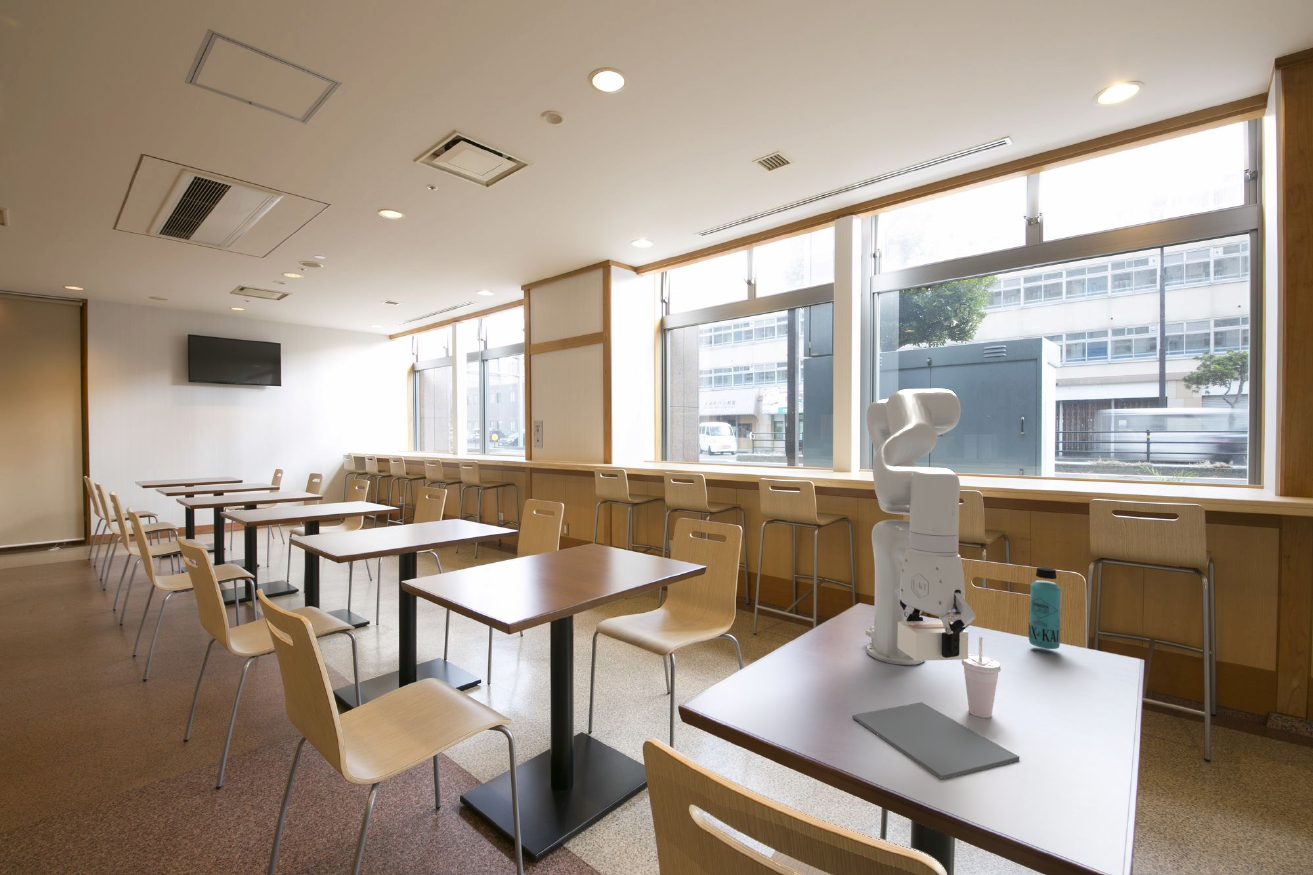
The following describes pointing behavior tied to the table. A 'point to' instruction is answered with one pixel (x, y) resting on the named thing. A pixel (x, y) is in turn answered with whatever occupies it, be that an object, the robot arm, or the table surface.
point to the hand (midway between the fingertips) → (931, 647)
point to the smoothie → (981, 682)
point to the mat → (935, 740)
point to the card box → (927, 640)
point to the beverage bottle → (1045, 611)
